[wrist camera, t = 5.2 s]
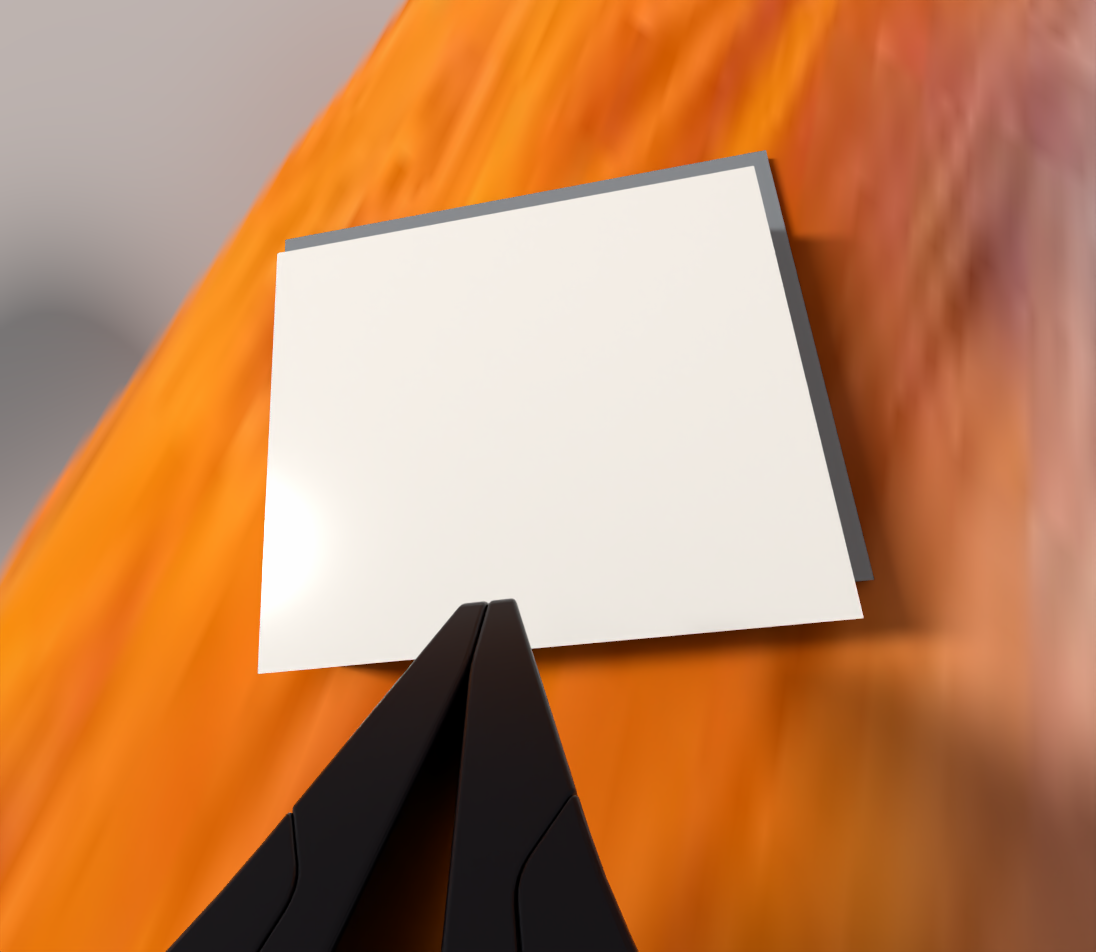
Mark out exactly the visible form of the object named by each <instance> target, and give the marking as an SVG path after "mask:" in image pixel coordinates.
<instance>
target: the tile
mask: <svg viewBox="0 0 1096 952" xmlns="http://www.w3.org/2000/svg"><path fill="white" fill-rule="evenodd" d="M510 598H513V599H515V600H516V602H517V605H518V608H519V611H520V614H521V618H522V621H523V624H524V627H525V630H526V633H527V636H528V640H529V643H530V646H531V649H533V648H544V647H555V646H566V645H577V644H588V643H599V642H609V641H620V640H631V639H642V638H653V637H664V636H675V635H686V634H697V633H708V632H718V631H729V630H740V629H751V628H762V627H773V626H784V625H795V624H806V623H817V622H827V621H838V620H849V619H860V618H864V617H863V613H862V609H861V605H860V600H859V596H858V592H857V588H856V584H855V580H854V576H853V572H852V568H851V563H850V559H849V555H848V551H847V547H846V543H845V539H844V535H843V530H842V526H841V522H840V518H839V514H838V510H837V506H836V502H835V498H834V493H833V489H832V485H831V481H830V477H829V473H828V469H827V465H826V460H825V456H824V452H823V448H822V444H821V440H820V436H819V432H818V428H817V423H816V419H815V415H814V411H813V407H812V403H811V399H810V395H809V390H808V386H807V382H806V378H805V374H804V370H803V366H802V362H801V358H800V353H799V349H798V345H797V341H796V337H795V333H794V329H793V325H792V320H791V316H790V312H789V308H788V304H787V300H786V296H785V292H784V288H783V283H782V279H781V275H780V271H779V267H778V263H777V259H776V255H775V250H774V246H773V242H772V238H771V234H770V230H769V226H768V222H767V218H766V213H765V209H764V205H763V201H762V197H761V193H760V189H759V185H758V180H757V176H756V172H755V168H754V166H749V167H744V168H738V169H733V170H728V171H722V172H717V173H711V174H706V175H700V176H695V177H690V178H684V179H679V180H673V181H668V182H662V183H657V184H652V185H646V186H641V187H635V188H630V189H624V190H619V191H613V192H608V193H603V194H597V195H592V196H586V197H581V198H575V199H570V200H565V201H559V202H554V203H548V204H543V205H537V206H532V207H527V208H521V209H516V210H510V211H505V212H499V213H494V214H488V215H483V216H478V217H472V218H467V219H461V220H456V221H450V222H445V223H440V224H434V225H429V226H423V227H418V228H412V229H407V230H401V231H396V232H391V233H385V234H380V235H374V236H369V237H363V238H358V239H353V240H347V241H342V242H336V243H331V244H325V245H320V246H315V247H309V248H304V249H298V250H293V251H287V252H282V253H278V254H277V275H276V297H275V318H274V339H273V361H272V382H271V403H270V425H269V446H268V467H267V489H266V510H265V531H264V553H263V574H262V595H261V616H260V638H259V659H258V674H261V673H272V672H283V671H293V670H304V669H315V668H326V667H337V666H348V665H359V664H370V663H381V662H392V661H402V660H413V659H416V658H417V657H418V655H419V654H420V653H421V652H422V651H423V649H424V648H425V647H426V646H427V645H428V643H429V642H430V641H431V640H432V638H433V637H434V636H435V635H436V634H437V632H438V631H439V630H440V629H441V628H442V626H443V625H444V624H445V623H446V622H447V620H448V619H449V618H450V617H451V616H452V614H453V613H454V612H455V611H456V610H457V608H458V607H459V606H460V605H462V604H464V603H471V602H481V601H485V602H487V603H490V602H491V601H492V600H500V599H510Z"/></svg>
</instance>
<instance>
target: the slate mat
mask: <svg viewBox="0 0 1096 952" xmlns="http://www.w3.org/2000/svg"><path fill="white" fill-rule="evenodd" d="M749 166H754V168H755V172H756V176H757V180H758V185H759V189H760V193H761V197H762V201H763V205H764V209H765V213H766V218H767V222H768V226H769V230H770V234H771V238H772V242H773V246H774V250H775V255H776V259H777V263H778V267H779V271H780V275H781V279H782V283H783V288H784V292H785V296H786V300H787V304H788V308H789V312H790V316H791V320H792V325H793V329H794V333H795V337H796V341H797V345H798V349H799V353H800V358H801V362H802V366H803V370H804V374H805V378H806V382H807V386H808V390H809V395H810V399H811V403H812V407H813V411H814V415H815V419H816V423H817V428H818V432H819V436H820V440H821V444H822V448H823V452H824V456H825V460H826V465H827V469H828V473H829V477H830V481H831V485H832V489H833V493H834V498H835V502H836V506H837V510H838V514H839V518H840V522H841V526H842V530H843V535H844V539H845V543H846V547H847V551H848V555H849V559H850V563H851V568H852V572H853V576H854V580H855V582H857V581H867V580H874V577H873V573H872V569H871V565H870V561H869V557H868V553H867V549H866V545H865V541H864V537H863V533H862V529H861V525H860V521H859V517H858V513H857V510H856V506H855V502H854V498H853V494H852V490H851V486H850V482H849V478H848V474H847V470H846V466H845V462H844V458H843V454H842V450H841V446H840V442H839V438H838V434H837V430H836V426H835V422H834V418H833V415H832V411H831V407H830V403H829V399H828V395H827V391H826V387H825V383H824V379H823V375H822V371H821V367H820V363H819V359H818V355H817V351H816V347H815V343H814V339H813V335H812V331H811V327H810V324H809V320H808V316H807V312H806V308H805V304H804V300H803V296H802V292H801V288H800V284H799V280H798V276H797V272H796V268H795V264H794V260H793V256H792V252H791V248H790V244H789V240H788V236H787V232H786V229H785V225H784V221H783V217H782V213H781V209H780V205H779V201H778V197H777V193H776V189H775V185H774V181H773V177H772V173H771V169H770V165H769V161H768V157H767V153H766V150H764V151H759V152H754V153H748V154H743V155H738V156H732V157H727V158H721V159H716V160H711V161H705V162H700V163H695V164H689V165H684V166H679V167H673V168H668V169H663V170H657V171H652V172H647V173H641V174H636V175H630V176H625V177H620V178H614V179H609V180H604V181H598V182H593V183H588V184H582V185H577V186H572V187H566V188H561V189H555V190H550V191H545V192H539V193H534V194H529V195H523V196H518V197H513V198H507V199H502V200H497V201H491V202H486V203H480V204H475V205H470V206H464V207H459V208H454V209H448V210H443V211H438V212H432V213H427V214H422V215H416V216H411V217H406V218H400V219H395V220H389V221H384V222H379V223H373V224H368V225H363V226H357V227H352V228H347V229H341V230H336V231H331V232H325V233H320V234H314V235H309V236H304V237H298V238H293V239H288V240H285V252H287V251H293V250H298V249H304V248H309V247H315V246H320V245H325V244H331V243H336V242H342V241H347V240H353V239H358V238H363V237H369V236H374V235H380V234H385V233H391V232H396V231H401V230H407V229H412V228H418V227H423V226H429V225H434V224H440V223H445V222H450V221H456V220H461V219H467V218H472V217H478V216H483V215H488V214H494V213H499V212H505V211H510V210H516V209H521V208H527V207H532V206H537V205H543V204H548V203H554V202H559V201H565V200H570V199H575V198H581V197H586V196H592V195H597V194H603V193H608V192H613V191H619V190H624V189H630V188H635V187H641V186H646V185H652V184H657V183H662V182H668V181H673V180H679V179H684V178H690V177H695V176H700V175H706V174H711V173H717V172H722V171H728V170H733V169H738V168H744V167H749Z"/></svg>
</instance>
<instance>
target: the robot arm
mask: <svg viewBox="0 0 1096 952" xmlns="http://www.w3.org/2000/svg"><path fill="white" fill-rule="evenodd" d="M166 952H638V949H637V947H636V945H635V943H634V941H633V939H632V936H631V934H630V932H629V930H628V927H627V925H626V923H625V920H624V918H623V916H622V913H621V911H620V908H619V906H618V904H617V901H616V899H615V897H614V894H613V892H612V890H611V887H610V885H609V883H608V880H607V878H606V875H605V873H604V870H603V867H602V864H601V861H600V859H599V856H598V853H597V850H596V847H595V844H594V842H593V839H592V836H591V833H590V830H589V827H588V824H587V821H586V818H585V815H584V812H583V809H582V805H581V802H580V799H579V797H578V795H577V791H576V788H575V784H574V781H573V778H572V775H571V772H570V769H569V766H568V762H567V759H566V756H565V753H564V750H563V747H562V744H561V740H560V737H559V734H558V731H557V728H556V725H555V721H554V718H553V715H552V712H551V709H550V706H549V703H548V699H547V696H546V693H545V690H544V687H543V684H542V681H541V677H540V674H539V671H538V668H537V665H536V662H535V658H534V655H533V652H532V649H531V646H530V643H529V640H528V636H527V633H526V630H525V627H524V624H523V621H522V618H521V614H520V611H519V608H518V605H517V602H516V600H515V599H513V598H510V599H500V600H492V601H491V602H490V603H487V602H485V601H481V602H471V603H464V604H462V605H460V606H459V607H458V608H457V610H456V611H455V612H454V613H453V614H452V616H451V617H450V618H449V619H448V620H447V622H446V623H445V624H444V625H443V626H442V628H441V629H440V630H439V631H438V632H437V634H436V635H435V636H434V637H433V638H432V640H431V641H430V642H429V643H428V645H427V646H426V647H425V648H424V649H423V651H422V652H421V653H420V654H419V655H418V657H417V658H416V659H415V660H414V661H413V663H412V664H411V665H410V666H409V667H408V669H407V670H406V671H405V672H404V673H403V675H402V676H401V677H400V678H399V680H398V681H397V682H396V683H395V684H394V686H393V687H392V688H391V689H390V690H389V692H388V693H387V694H386V695H385V696H384V698H383V699H382V700H381V701H380V702H379V704H378V705H377V706H376V707H375V708H374V710H373V711H372V712H371V713H370V715H369V716H368V717H367V718H366V719H365V721H364V722H363V723H362V724H361V725H360V727H359V728H358V729H357V730H356V731H355V733H354V734H353V735H352V736H351V737H350V739H349V740H348V741H347V742H346V743H345V745H344V746H343V747H342V748H341V749H340V751H339V752H338V753H337V754H336V756H335V757H334V758H333V759H332V760H331V762H330V763H329V764H328V765H327V766H326V768H325V769H324V770H323V771H322V772H321V774H320V775H319V776H318V777H317V778H316V780H315V781H314V782H313V783H312V784H311V786H310V787H309V788H308V789H307V791H306V792H305V793H304V794H303V795H302V797H301V798H300V799H299V800H298V801H297V803H296V804H295V805H294V806H293V813H288V814H286V816H285V817H284V818H283V819H282V820H281V822H280V823H279V824H278V825H277V826H276V828H275V829H274V830H273V831H272V832H271V834H270V835H269V836H268V837H267V838H266V840H265V841H264V842H263V843H262V844H261V846H260V847H259V848H258V849H257V850H256V851H255V853H254V854H253V855H252V856H251V857H250V858H249V860H248V861H247V862H246V863H245V864H244V865H243V866H242V868H241V869H240V870H239V871H238V872H237V873H236V875H235V876H234V877H233V878H232V879H231V880H230V882H229V883H228V884H227V885H226V886H225V887H224V889H223V890H222V891H221V892H220V893H219V894H218V895H217V896H216V897H215V899H214V900H213V901H212V902H211V903H210V904H209V905H208V906H207V907H206V908H205V909H204V911H203V912H202V913H201V914H200V915H199V916H198V917H197V918H196V919H195V920H194V921H193V922H192V924H191V925H190V926H189V927H188V928H187V929H186V930H185V931H184V932H183V933H182V934H181V936H180V937H179V938H178V939H177V940H176V941H175V942H174V943H173V944H172V945H171V946H170V947H169V949H168V950H167V951H166Z"/></svg>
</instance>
